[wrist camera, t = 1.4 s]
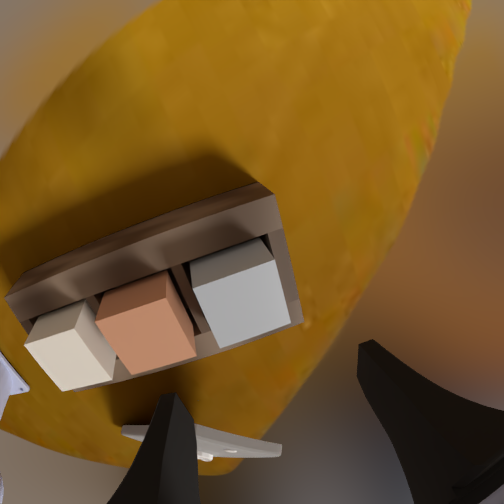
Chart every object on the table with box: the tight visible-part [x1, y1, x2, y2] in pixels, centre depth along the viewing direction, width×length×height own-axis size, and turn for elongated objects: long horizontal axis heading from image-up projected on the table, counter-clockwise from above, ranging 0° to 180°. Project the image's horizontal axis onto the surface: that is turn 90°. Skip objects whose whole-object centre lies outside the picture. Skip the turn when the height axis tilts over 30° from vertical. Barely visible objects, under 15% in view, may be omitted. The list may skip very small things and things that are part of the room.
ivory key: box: [24, 299, 116, 391], centre depth 16 cm, size 4×4×3 cm
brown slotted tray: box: [4, 182, 304, 392], centre depth 19 cm, size 18×9×4 cm, turn 105°
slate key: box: [190, 238, 291, 348], centre depth 17 cm, size 4×4×3 cm
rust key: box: [95, 270, 197, 375], centre depth 16 cm, size 4×4×3 cm
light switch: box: [121, 400, 282, 461], centre depth 24 cm, size 8×6×14 cm
